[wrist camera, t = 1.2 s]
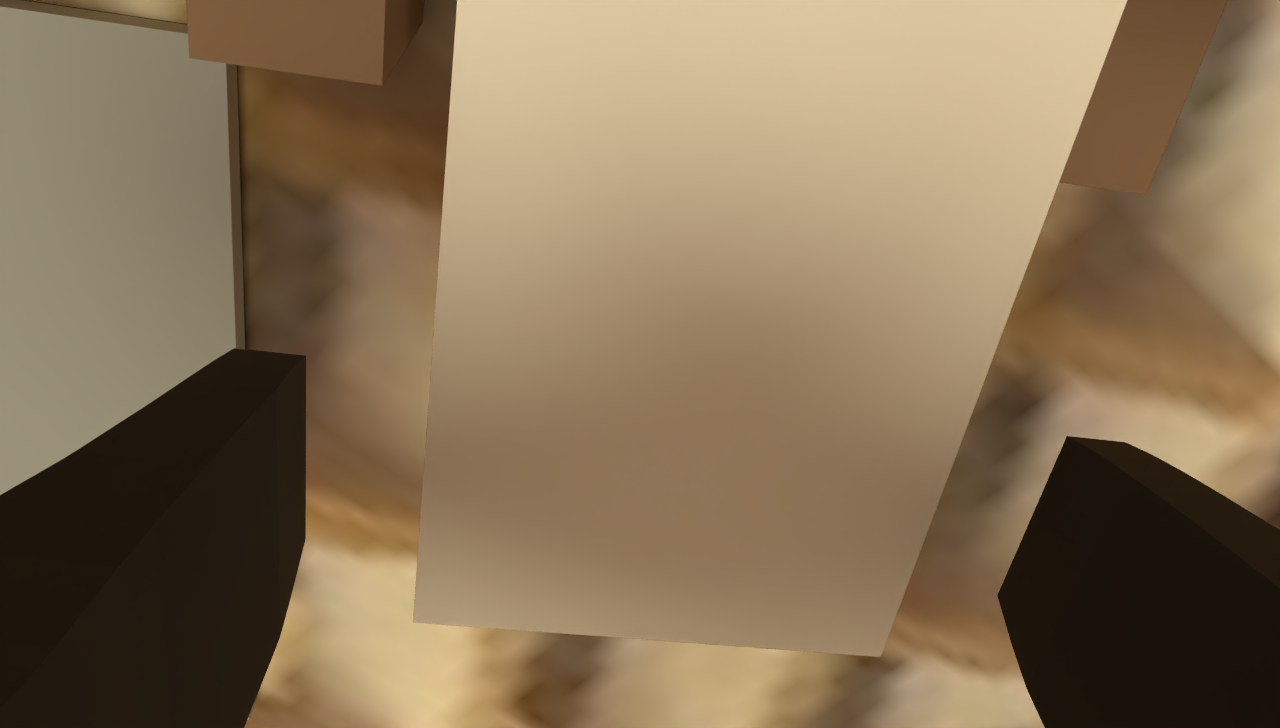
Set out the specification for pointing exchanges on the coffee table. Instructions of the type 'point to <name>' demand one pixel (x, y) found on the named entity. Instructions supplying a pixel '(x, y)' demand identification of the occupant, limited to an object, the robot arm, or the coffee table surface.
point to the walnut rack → (393, 11)
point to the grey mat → (109, 224)
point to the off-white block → (726, 301)
